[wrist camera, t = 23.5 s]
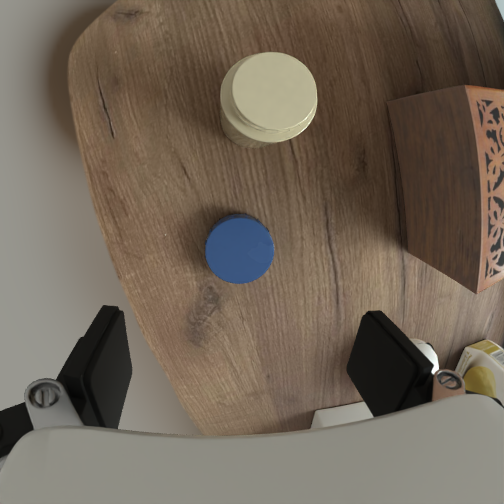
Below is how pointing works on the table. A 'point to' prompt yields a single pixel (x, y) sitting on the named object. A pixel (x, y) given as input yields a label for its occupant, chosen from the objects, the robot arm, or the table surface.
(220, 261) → the jar lid
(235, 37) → the table surface
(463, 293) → the table surface
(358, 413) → the medicine bottle
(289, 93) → the jar
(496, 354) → the juice carton
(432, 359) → the white egg shaped container
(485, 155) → the tissue box cover
